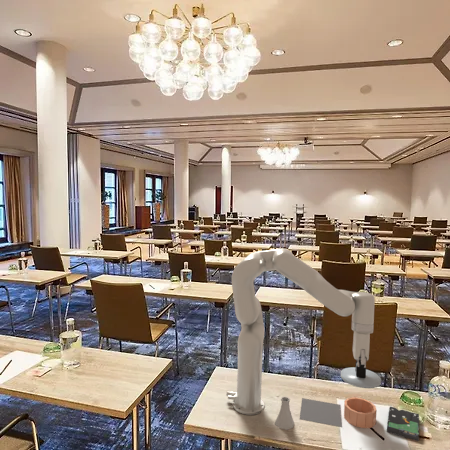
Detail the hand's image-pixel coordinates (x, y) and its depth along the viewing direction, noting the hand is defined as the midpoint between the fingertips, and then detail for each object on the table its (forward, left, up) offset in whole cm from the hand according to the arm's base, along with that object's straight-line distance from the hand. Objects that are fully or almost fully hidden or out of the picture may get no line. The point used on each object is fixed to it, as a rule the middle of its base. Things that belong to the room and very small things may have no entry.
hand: (360, 374), depth 132 cm
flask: (-26, -12, -18) cm, 34 cm away
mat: (-14, 0, -18) cm, 22 cm away
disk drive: (+16, +2, -18) cm, 24 cm away
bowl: (0, 0, -18) cm, 18 cm away
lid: (0, 0, -2) cm, 2 cm away
